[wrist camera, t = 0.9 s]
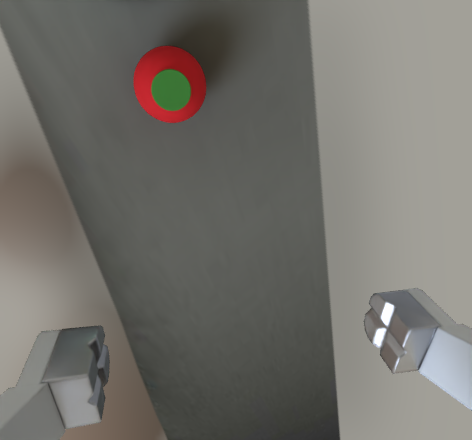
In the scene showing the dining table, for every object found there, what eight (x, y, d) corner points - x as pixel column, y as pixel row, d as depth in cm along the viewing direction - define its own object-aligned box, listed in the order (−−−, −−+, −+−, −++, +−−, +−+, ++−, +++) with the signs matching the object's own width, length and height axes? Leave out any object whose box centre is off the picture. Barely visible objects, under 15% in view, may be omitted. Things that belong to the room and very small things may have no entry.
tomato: (170, 29, 23) (171, 26, 19) (215, 85, 25) (226, 95, 21) (121, 77, 24) (112, 86, 19) (169, 128, 26) (171, 145, 22)
